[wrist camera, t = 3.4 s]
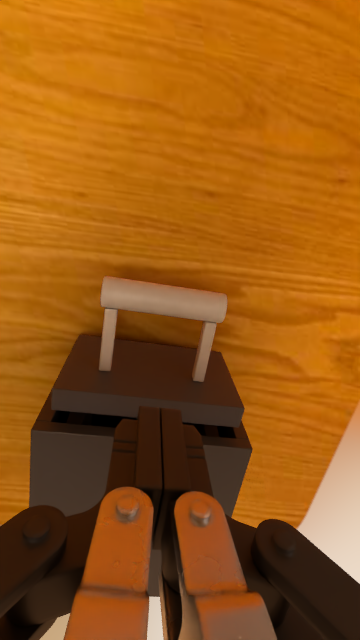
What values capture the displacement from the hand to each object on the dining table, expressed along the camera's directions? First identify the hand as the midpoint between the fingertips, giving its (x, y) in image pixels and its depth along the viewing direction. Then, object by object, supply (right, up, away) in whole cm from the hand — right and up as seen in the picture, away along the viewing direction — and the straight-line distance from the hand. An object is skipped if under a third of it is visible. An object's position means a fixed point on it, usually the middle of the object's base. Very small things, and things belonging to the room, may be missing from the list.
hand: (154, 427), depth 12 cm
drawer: (-1, 0, +10) cm, 10 cm away
